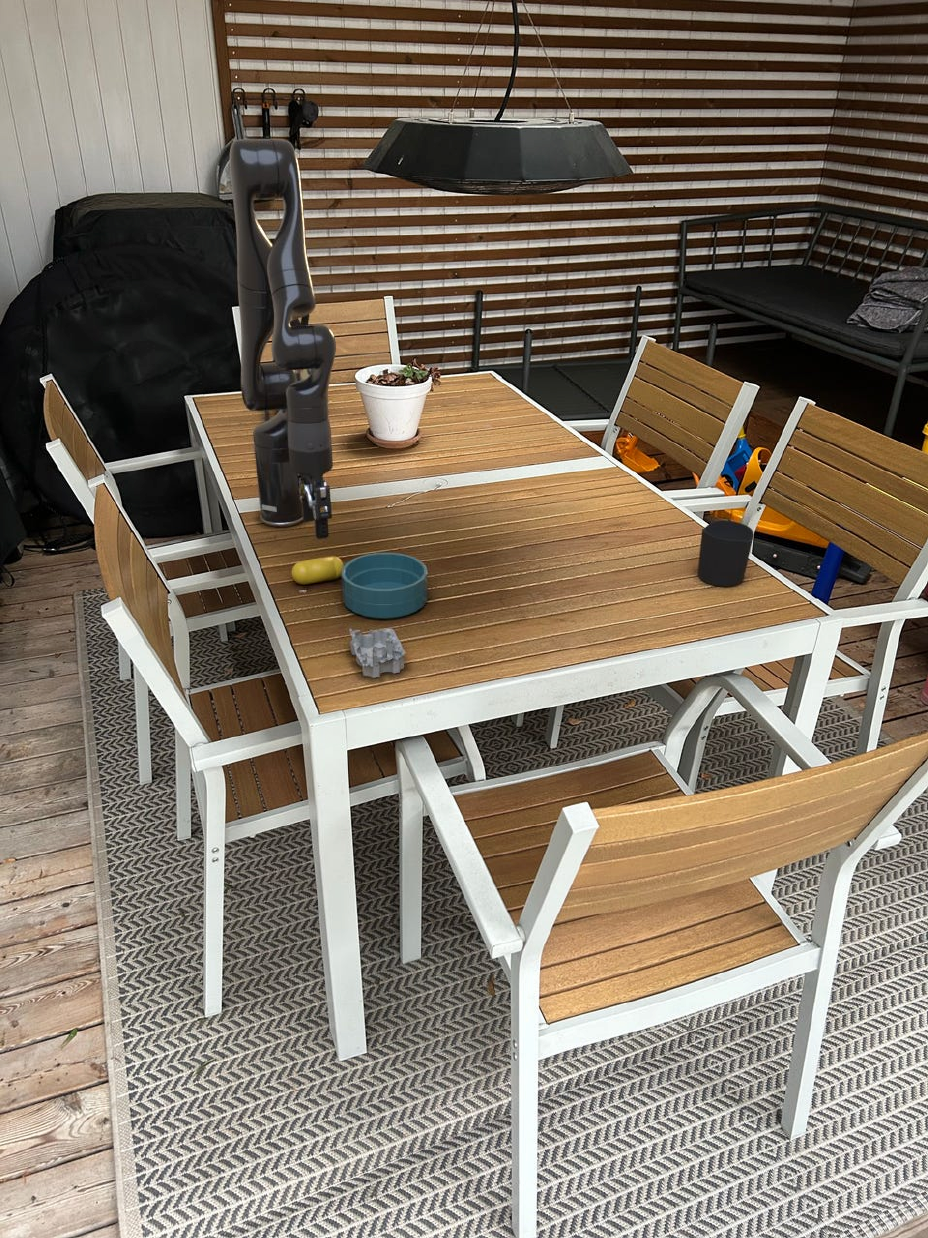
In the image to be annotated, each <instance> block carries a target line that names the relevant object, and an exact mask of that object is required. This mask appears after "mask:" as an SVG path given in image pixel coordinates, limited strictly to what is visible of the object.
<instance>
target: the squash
mask: <svg viewBox="0 0 928 1238" xmlns="http://www.w3.org/2000/svg"><path fill="white" fill-rule="evenodd" d="M348 562H349V561H342V559H341V558H340V557H338V556H335V555H334V556H333V555H332V556H324V557H319V558H313V559H306V560H301V561H298V562H296V563H295V564H294V565H293V566H292V568H291V576H292V579H293V580H294V582H295V583H297V584H298V585H303V586H304V585H311V584H317V583H323V582H327V581H335V580H337V579H340V578H342V576H341V574H342V568H343V567H344V566H345V565H346V563H348Z"/></svg>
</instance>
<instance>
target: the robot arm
mask: <svg viewBox="0 0 928 1238" xmlns="http://www.w3.org/2000/svg"><path fill="white" fill-rule="evenodd" d="M230 145H231V146H230V150H229V172H230V183H231V193H232V194H231V195H232V202H233V203H232V204H233V210H234V221H235V231H236V232H235V233H236V234H235V235H236V265H237V266H236V267H237V268H236V270H237V273H236V275H237V277H236V278H237V296H238V297H237V298H238V309H239V320H240V335H241V337H240V338H241V340H240V341H241V343H240V345H241V347H240V350H241V352H240V392H241V399H242V402H243V404H244V406H245V408H246V409H247V410H248V411H250V412H264V422H262V423H260V424H258V425H257V426H255V428H254V429H253V432H252V434H253V435H252V438H253V447H254V448H253V449H254V458H255V459H254V460H255V469H256V479H257V490H258V500H259V501H258V502H259V511H260V515H259V517H260V523H262V524H264V525H266V526H269V527H275V528H285V527H292V526H296V525H299V524H300V523H302V522H306V523H308V522H314V532H315V537H316V539H318V540H321V539H327V538H329V520H330V519H332V518H333V514H332V499H331V487H330V485H327V482H326V479H324V474H326V473H329V472H330V471H332V469H333V466H334V461H333V443H332V427H331V422H330V414H329V412H330V411H329V410H330V409H329V386H330V380H331V376H332V375H331V374H332V371H333V367H334V362H335V359H336V353H337V342H336V337H335V335H334V333H333V331H332V330H331V329H330V328H329V327H328V326H327V325H325V324H319V323H318V324H308V325H303V326H290V322H291V321H293V320H295V319H301V318H302V317H304V316H306V315H308V314H309V315H310V314H311V313H313V312H314V311H315V309H316V305H317V302H316V295H315V291H314V285H313V281H312V276H311V270H310V267H309V260H308V255H307V254H308V252H307V244H306V231H305V230H306V228H305V216H304V215H305V214H304V205H303V195H302V183H301V173H300V166H299V160H298V157H297V156H298V155H297V153H296V150H295V147H294V145H293V144H292V143H291V141H289V140H287V139H282V138H242V139H235V140H234V141H233V142H232V143H231V144H230ZM255 200H256V201H258V200H282V202H283V213H282V214H283V216H282V220H281V223H280V226H279V228H278V231H277V233H276V236H275V238H274V240H273V243H272V241H271V240H270V238H269V237H268V235H267V234H266V232H265V231H264V229H263V227H262V225H261V224H260V221H259V220H258V217H257V216H256V215H257V214H256V211H255V208H254V202H255ZM270 339H271V356H272V360H273V359H274V361H275V363H272V362H261V361H262V358H263V357H262V356H263V353H264V350H265V349H266V346H267V344H268V342H269V340H270ZM303 369H313V370H312V372H311V374H310V375H309V377H307V378H306V379H304V380H301V381H298V382H297V377H296V372H295V370H303ZM269 411H278V412H277V413H276V414H275V415H274V416H273V417H271V418H269ZM321 508H322V509H323V511H321Z"/></svg>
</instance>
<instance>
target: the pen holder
mask: <svg viewBox="0 0 928 1238" xmlns="http://www.w3.org/2000/svg"><path fill="white" fill-rule="evenodd" d="M754 536H755V535H754V531H753V529H752V528H751V527H750V526H748V525H746V524H745V523H742V522H738V521H733V520H724V519H721V520H720V519H719V520H714V521H712V522H711V523H709V524H707V525H706V526H705V527H704V528H702V529H701V537H700V546H699V555H698V556H699V557H698V565H697V576H698V578H699V579H700V580H701V581H702V582H704V583H705V584H708V585H710V586H714V587H720V588H733V587H736V586H739V585H740V584H741V583H742V582H743V581H744V578H745V575H746V571H747V566H748V563H749V558H750V554H751V549H752V545H753V541H754Z"/></svg>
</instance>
